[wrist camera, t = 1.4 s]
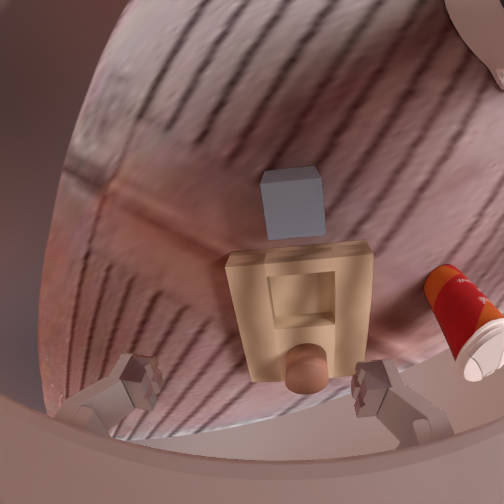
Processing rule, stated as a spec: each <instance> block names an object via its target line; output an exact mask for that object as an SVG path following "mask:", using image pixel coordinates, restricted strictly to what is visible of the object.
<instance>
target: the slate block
mask: <svg viewBox="0 0 504 504" xmlns="http://www.w3.org/2000/svg"><path fill="white" fill-rule="evenodd" d="M260 188H261V194H262V201H263V208H264V215H265V222H266V229H267V236H268V241H269V240H279V239H290V238H300V237H311V236H322V235H326V227H325V212H324V199H323V187H322V177H321V176H320V174H319V172H318V171H317V169H316V167H315V166H307V167H296V168H287V169H277V170H269V171H265V172H264V174H263V177H262V180H261V183H260Z"/></svg>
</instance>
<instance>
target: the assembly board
mask: <svg viewBox="0 0 504 504" xmlns="http://www.w3.org/2000/svg"><path fill="white" fill-rule="evenodd" d="M373 255H374V254H373V252H372V250H371V249H370V247H369V245H368V243H367V242H366V240H358V241H347V242H336V243H325V244H314V245H303V246H292V247H282V248H271V249H260V250H249V251H239V252H231V253H230V255H229V258H228V261H227V263H226V266H225V270H226V275H227V279H228V284H229V288H230V292H231V297H232V301H233V306H234V310H235V314H236V319H237V323H238V327H239V331H240V336H241V340H242V344H243V348H244V352H245V357H246V361H247V365H248V369H249V373H250V377H251V381H252V382H280V381H285V384H286V387H287V388H288V389H289V390H290V391H292V392H294V393H297V394H313V393H317V392H319V391H321V390H323V389H324V388H325V387H326V386H327V385H328V383H329V378H335V377H344V376H353V375H354V374H355V373H356V371H355V366H356V363H357V362H359V361H364V360H365V353H366V345H367V336H368V327H369V317H370V306H371V293H372V278H373Z"/></svg>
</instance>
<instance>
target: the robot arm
mask: <svg viewBox="0 0 504 504" xmlns="http://www.w3.org/2000/svg"><path fill="white" fill-rule="evenodd" d="M444 1H445V5H446V8H447V11H448V14H449V16H450V18H451V20H452V23H453V24H454V26H455V28H456V30H457V31H458V33H459V35H460V36H461V38H462V39H463V40H464V42H465V43H466V45H467V46H468V47H469V48H470V49H471V51H472V52H473V53H474V54H475V55H476V56H477V57H478V58H479V59H480V60H481V61H482V62H483V63H484V64H485V65H486V66H487V67H488V68H489V70H490V72H491V73H492V75H493V77H494V79H495V81H496V82H497V84H498V86H499V87H500V88H501V89H502V90H504V0H444ZM157 366H158V361H157V358H155V357H150V356H143V355H137V354H130V353H123V354H121V356H120V357H119V359H118V361H117V362H116V364H115V366H114V367H113V369H112V371H111V373H110V374H109V376H108V377H104V378H102V379H100V380H99V381H97V382H95V383H94V384H92V385H90V386H88V387H87V388H85V389H83V390H81V391H79V392H78V393H76V394H74V395H72V396H71V397H69V398H67V399H66V400H65V401H64V403H63V405H62V406H61V408H60V409H59V411H58V413H57V414H56V416H55V418H53V417H50V416H48V415H45V414H43V413H41V412H38V411H36V410H34V409H32V408H29V407H27V406H25V405H23V404H21V403H19V402H17V401H15V400H13V399H11V398H9V397H7V396H5V395H3V394H0V504H504V416H503V417H501V418H498V419H496V420H493V421H491V422H488V423H486V424H483V425H480V426H478V427H475V428H472V429H469V430H467V431H464V432H461V433H458V434H454V432H453V429H452V427H451V424H450V422H449V419H448V417H447V414H446V413H445V412H444V411H443V410H441V409H440V408H438V407H437V406H436V405H434V404H433V403H431V402H430V401H428V400H427V399H426V398H424V397H423V396H421V395H420V394H419V393H417V392H416V391H414V390H413V389H412V388H410V387H409V386H404V384H403V382H402V380H401V377H400V374H399V372H398V369H397V367H396V365H395V362H394V360H393V359H392V358H389V359H381V360H370V361H359V362H357V363H356V366H355V371H356V373H355V374H354V375H353V377H352V381H351V393H352V397H353V398H354V399H355V400H356V402H355V405H354V407H355V411H356V416H357V418H360V417H370V416H376V417H377V418H378V419H379V420H380V421H381V422H382V423H383V424H384V425H385V426H386V427H387V429H388V430H390V431H391V433H393V435H394V436H395V437H396V438H397V439H398V440H399V441H400V444H399V445H398V447H397V448H396V449H395V450H390V451H385V452H379V453H373V454H366V455H359V456H351V457H341V458H331V459H319V460H318V459H317V460H296V461H295V460H294V461H264V460H240V459H227V458H216V457H207V456H198V455H191V454H185V453H178V452H172V451H167V450H161V449H156V448H151V447H147V446H142V445H138V444H134V443H130V442H126V441H122V440H118V439H114V438H112V437H111V436H110V435H109V433H108V431H109V430H110V429H111V428H112V427H114V426H115V425H116V424H117V423H119V422H120V421H121V420H122V419H123V418H125V417H126V416H127V415H128V414H129V413H131V412H132V411H133V410H134V409H135V408H138V409H144V410H151V411H153V409H154V406H155V403H156V401H157V398H156V394H157V393H159V392H160V390H161V388H162V382H163V378H162V373H161V371H160V370H159V369H158V368H157Z"/></svg>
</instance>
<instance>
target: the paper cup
mask: <svg viewBox="0 0 504 504" xmlns="http://www.w3.org/2000/svg"><path fill="white" fill-rule="evenodd" d="M424 292H425V295H426V298H427V300H428V302H429V304H430V306H431V308H432V310H433V312H434V314H435V317H436V319H437V321H438V323H439V325H440V327H441V329H442V332H443V334H444V336H445V338H446V340H447V343H448V345H449V347H450V349H451V352H452V354H453V357H454V359H455V361H456V362H455V368H456V371H457V373H458V374H459V375H461V376H463V377H464V378H465V379H466V380H468V381H479V380H482V377H484V376H485V377H487V376H488V375H490V374H491V373H493V372H494V370H495V369H499V368H500V367H501V366H503V365H504V316H503V315H502V314H501V313H500V312H499V310H498V309H497V308H496V307H495V306H494V305H493V304H492V303H491V302H490V301H489V300H488V299H487V297H486V296H485V295H484V294H483V293H482V292H481V291H480V290H479V289H478V288H477V287H476V286H475V285H474V284H473V283H472V282H471V281H470V280H469V279H468V278H467V277H466V276H465V275H464V274H463V273H461V272H460V271H459V270H458V269H457V268H456V267H454V266H453V265H449V264H445V265H441V266H439V267H437V268H436V269H434V270H433V271H432V272H431V273H430V275H429V276H428V277H427V279H426V282H425V285H424Z"/></svg>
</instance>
